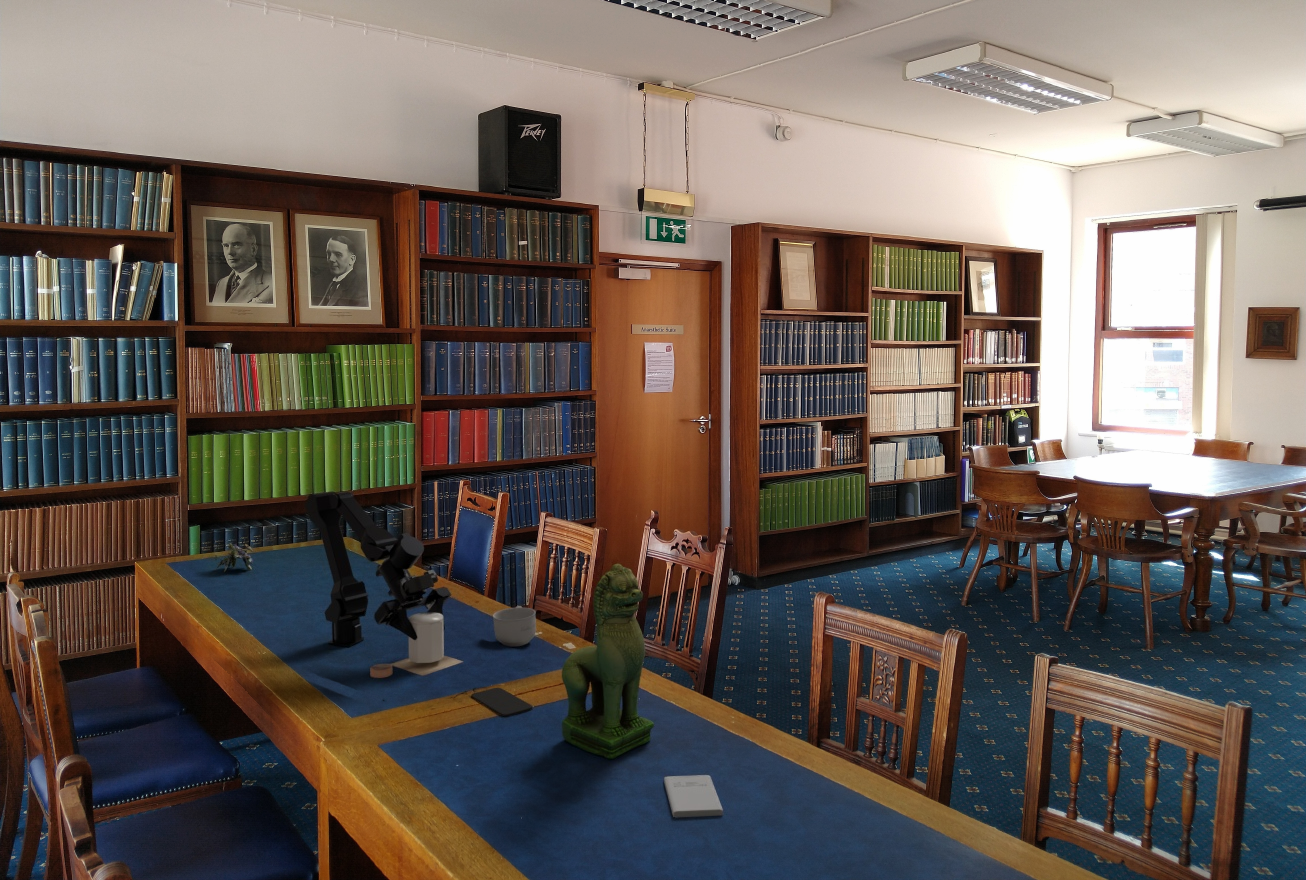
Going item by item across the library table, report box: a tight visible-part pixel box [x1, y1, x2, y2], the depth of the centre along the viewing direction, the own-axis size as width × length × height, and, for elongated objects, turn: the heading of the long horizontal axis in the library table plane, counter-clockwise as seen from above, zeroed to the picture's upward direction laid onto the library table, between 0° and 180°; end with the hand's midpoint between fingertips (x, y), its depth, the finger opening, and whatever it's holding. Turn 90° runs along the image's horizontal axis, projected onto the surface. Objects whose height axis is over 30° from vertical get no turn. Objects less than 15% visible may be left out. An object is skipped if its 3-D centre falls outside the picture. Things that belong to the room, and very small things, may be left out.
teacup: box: [492, 605, 537, 647], centre depth 237 cm, size 14×11×8 cm
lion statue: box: [561, 563, 655, 760], centre depth 177 cm, size 14×17×35 cm
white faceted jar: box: [408, 611, 445, 663], centre depth 216 cm, size 8×8×10 cm
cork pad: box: [389, 655, 464, 677], centre depth 216 cm, size 12×12×2 cm
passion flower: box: [214, 542, 254, 573], centre depth 307 cm, size 11×11×12 cm
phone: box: [470, 687, 534, 718], centre depth 197 cm, size 7×1×15 cm
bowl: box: [369, 663, 393, 679], centre depth 209 cm, size 5×5×3 cm
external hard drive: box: [663, 774, 724, 819], centre depth 156 cm, size 2×8×12 cm
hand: (430, 634), depth 215 cm, fingers closed on white faceted jar, 8 cm apart
